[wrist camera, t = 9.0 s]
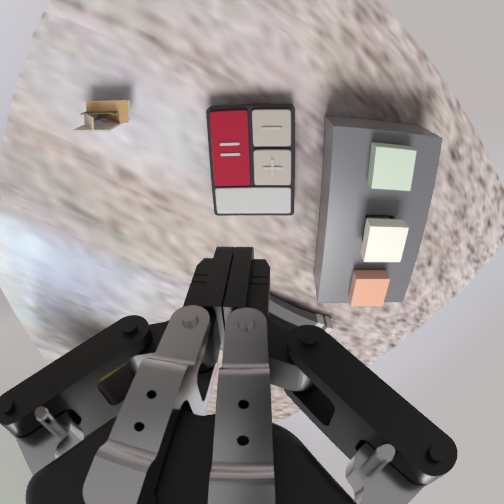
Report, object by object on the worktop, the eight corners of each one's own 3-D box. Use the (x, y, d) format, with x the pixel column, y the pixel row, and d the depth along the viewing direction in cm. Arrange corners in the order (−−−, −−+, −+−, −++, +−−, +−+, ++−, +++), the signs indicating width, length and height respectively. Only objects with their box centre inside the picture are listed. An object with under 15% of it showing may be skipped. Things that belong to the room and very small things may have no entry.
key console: (324, 115, 39) (333, 126, 33) (420, 125, 37) (442, 138, 32) (313, 274, 53) (317, 302, 47) (391, 274, 52) (402, 301, 46)
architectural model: (98, 97, 39) (70, 106, 33) (139, 96, 39) (115, 104, 33) (98, 119, 41) (71, 131, 34) (138, 119, 41) (115, 131, 34)
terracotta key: (349, 255, 46) (356, 279, 41) (380, 256, 45) (390, 278, 41) (344, 282, 49) (350, 306, 44) (374, 282, 48) (382, 305, 44)
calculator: (295, 105, 35) (294, 218, 43) (293, 103, 39) (292, 205, 47) (204, 108, 36) (213, 218, 44) (211, 105, 40) (218, 206, 47)
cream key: (360, 205, 39) (370, 226, 35) (395, 207, 39) (408, 227, 35) (355, 238, 42) (363, 261, 38) (388, 239, 42) (400, 262, 37)
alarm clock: (284, 374, 65) (214, 355, 61) (283, 357, 69) (215, 337, 64) (333, 328, 56) (253, 302, 52) (328, 310, 60) (253, 283, 55)
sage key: (363, 135, 36) (376, 146, 31) (400, 138, 35) (416, 150, 31) (360, 172, 39) (371, 188, 34) (395, 174, 38) (410, 191, 34)
